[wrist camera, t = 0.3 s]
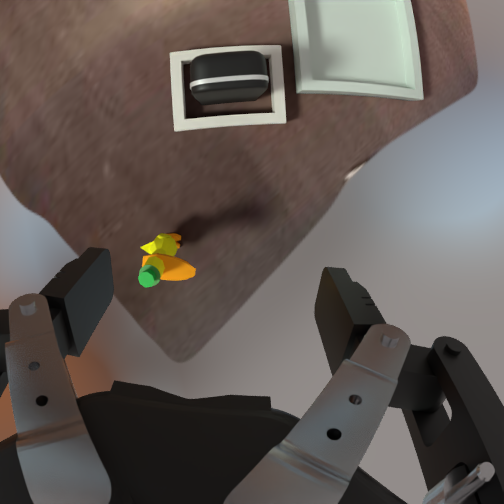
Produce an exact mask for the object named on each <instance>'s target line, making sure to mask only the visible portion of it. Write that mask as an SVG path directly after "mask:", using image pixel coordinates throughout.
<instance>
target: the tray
mask: <svg viewBox="0 0 504 504" xmlns="http://www.w3.org/2000/svg"><path fill="white" fill-rule="evenodd" d="M288 2H289V12H290V22H291V32H292V43H293V55H294V68H295V81H296V93H303V94H339V95H356V96H369V97H380V98H390V99H399V100H407V101H416V100H423V85H422V74H421V64H420V55H419V47H418V40H417V33H416V27H415V21H414V15H413V10H412V5H411V0H288Z"/></svg>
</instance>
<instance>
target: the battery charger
mask: <svg viewBox="0 0 504 504" xmlns="http://www.w3.org/2000/svg"><path fill="white" fill-rule="evenodd" d="M190 79H191V83H190V89H191V92H192V95H193V96H194V98H195V99H196V100H198V101H199V102H200V104H201V105H211V104H221V103H232V102H245V101H256V100H257V98H258V97H259V96H260V95H262V94H263V93H264V92H265V91H266V89H267V88H268V83H269V77H268V76H267V67H266V60H265V57H264V56H263V54H261V53H260V52H258V51H252V50H249V51H232V52H220V53H210V54H203V55H199V56H197V57H195V58H194V59H193V60H192V62H191V64H190Z"/></svg>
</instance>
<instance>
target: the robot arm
mask: <svg viewBox="0 0 504 504" xmlns="http://www.w3.org/2000/svg"><path fill="white" fill-rule="evenodd" d="M113 291H114V285H113V277H112V268H111V258H110V252H109V250H108V249H104V248H93V247H89V248H88V249H87V250H86V251H85V252H84V253H83V254H82V255H81V256H80V257H79V258H78V259H75V260H73V261H71V262H69V263H67V264H66V265H65V266H64V267H63V268H62V269H61V270H60V272H59V273H57V274H56V275H55V276H54V278H53V279H52V280H51V281H50V282H49V283H48V284H47V285H46V286H45V287H44V288H43V289H42V291H41V292H40V293H39V294H33V293H32V294H26V295H23V296H20V297H18V298H17V299H15V300H14V301H13V302H12V303H11V305H10V306H9V309H5V310H4V309H3V310H0V397H1V395H2V393H3V391H4V389H5V388H6V386H7V384H8V382H9V389H10V396H11V402H12V408H13V414H14V419H15V424H16V429H17V433H16V434H14V435H12V436H10V437H9V438H7V439H5V440H3V441H1V442H0V504H407V503H406V502H405V501H403V500H402V499H400V498H399V497H398V496H396V495H395V494H394V493H392V492H391V491H390V490H388V489H387V488H386V487H384V486H383V485H382V484H380V483H379V482H378V481H377V480H375V479H374V478H372V477H371V476H370V475H369V474H368V473H366V472H365V471H364V470H362V469H361V468H360V467H359V466H358V465H359V464H360V462H361V460H362V458H363V456H364V454H365V452H366V450H367V448H368V447H369V445H370V443H371V441H372V439H373V437H374V434H375V433H376V430H377V428H378V427H379V424H380V422H381V420H382V418H383V416H384V414H385V411H386V409H387V407H388V406H389V407H395V408H401V409H402V412H403V414H404V417H405V420H406V423H407V426H408V429H409V431H410V434H411V437H412V440H413V444H414V447H415V450H416V453H417V456H418V459H419V463H420V466H421V469H422V472H423V475H424V479H425V482H426V486H427V489H428V493H427V494H426V495H425V498H424V500H423V504H504V406H503V405H502V403H501V401H500V399H499V397H498V396H497V394H496V392H495V391H494V389H493V387H492V386H491V384H490V382H489V381H488V379H487V378H486V376H485V374H484V373H483V371H482V370H481V368H480V367H479V365H478V363H477V362H476V360H475V359H474V357H473V356H472V354H471V353H470V351H469V350H468V348H467V347H466V346H465V345H464V344H463V343H462V342H460V341H458V340H457V339H454V338H451V337H446V336H443V337H438V338H437V339H436V340H435V341H434V343H433V345H432V347H431V348H426V347H421V346H416V345H412V344H411V342H410V338H409V337H408V335H407V334H406V333H405V332H404V331H403V330H401V329H400V328H398V327H395V326H393V325H389V324H386V322H385V320H384V318H383V317H382V315H381V313H380V311H379V310H378V308H377V306H375V303H374V301H373V300H372V299H371V297H370V295H369V293H368V292H367V290H366V289H365V288H364V287H363V286H361V285H360V284H359V283H358V282H353V281H352V280H351V278H350V276H349V275H348V273H347V271H346V269H344V268H332V267H325V268H324V269H323V272H322V276H321V281H320V285H319V289H318V294H317V298H316V302H315V320H316V323H317V326H318V329H319V333H320V336H321V339H322V343H323V346H324V349H325V352H326V356H327V359H328V363H329V366H330V370H331V373H332V376H333V377H332V378H331V380H330V381H329V382H328V384H327V385H326V387H325V388H324V389H323V391H322V392H321V393H320V395H319V396H318V397H317V399H316V400H315V401H314V403H313V404H312V406H311V407H310V408H309V409H308V411H307V412H306V413H305V414H304V415H303V417H302V418H301V419H299V418H297V417H295V416H293V415H291V414H289V413H287V412H284V411H281V410H278V409H273V408H271V400H270V397H268V396H242V395H225V396H217V397H208V398H199V399H186V398H183V397H180V396H177V395H173V394H170V393H167V392H165V391H162V390H159V389H156V388H153V387H151V386H145V385H138V384H131V383H126V382H120V381H114V383H113V385H112V388H111V390H110V391H104V392H97V393H92V394H88V395H85V396H82V397H80V398H78V397H77V394H76V391H75V388H74V386H73V383H72V380H71V377H70V374H69V371H68V368H67V365H66V363H65V360H64V359H65V357H66V355H72V356H76V357H80V355H81V353H82V351H83V350H84V348H85V346H86V344H87V342H88V340H89V339H90V337H91V335H92V333H93V332H94V330H95V328H96V326H97V325H98V323H99V321H100V319H101V318H102V316H103V314H104V313H105V311H106V309H107V307H108V306H109V304H110V302H111V300H112V297H113ZM446 398H447V400H448V402H449V405H450V407H451V410H452V417H451V421H450V420H449V417H448V415H447V412H446V410H445V408H444V406H443V404H442V403H443V402H444V400H445V399H446Z"/></svg>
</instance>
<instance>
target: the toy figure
mask: <svg viewBox="0 0 504 504" xmlns="http://www.w3.org/2000/svg"><path fill="white" fill-rule="evenodd" d="M179 240H181V235H179V234H176V233H171V234H164V233H160V234H159V235H158V236H157V237H156V238H155V240H154V241H153V242H151V243H149V244H146V245H144V246H142V247H140V248H142V249H143V250H145V251H146V252H148V253H150V254H151V255H146V256H143V264H142V268H141V269H140V272H139V277H138V279H139V282H140V284H141V285H143V286H144V287H152V286H154V285H156V284H158V282H159V281H160V279H162V280H176V281H178V280H185V279H188V278H191V277H193V276H195V270H196V269H195V268H194V267H192V266H191V265H190V264H189V262H187V261H185V260H183V259H180V258H177V257H174V255H175V254H176V251H177V248H180V244H179V243H178V242H176V241H179Z"/></svg>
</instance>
